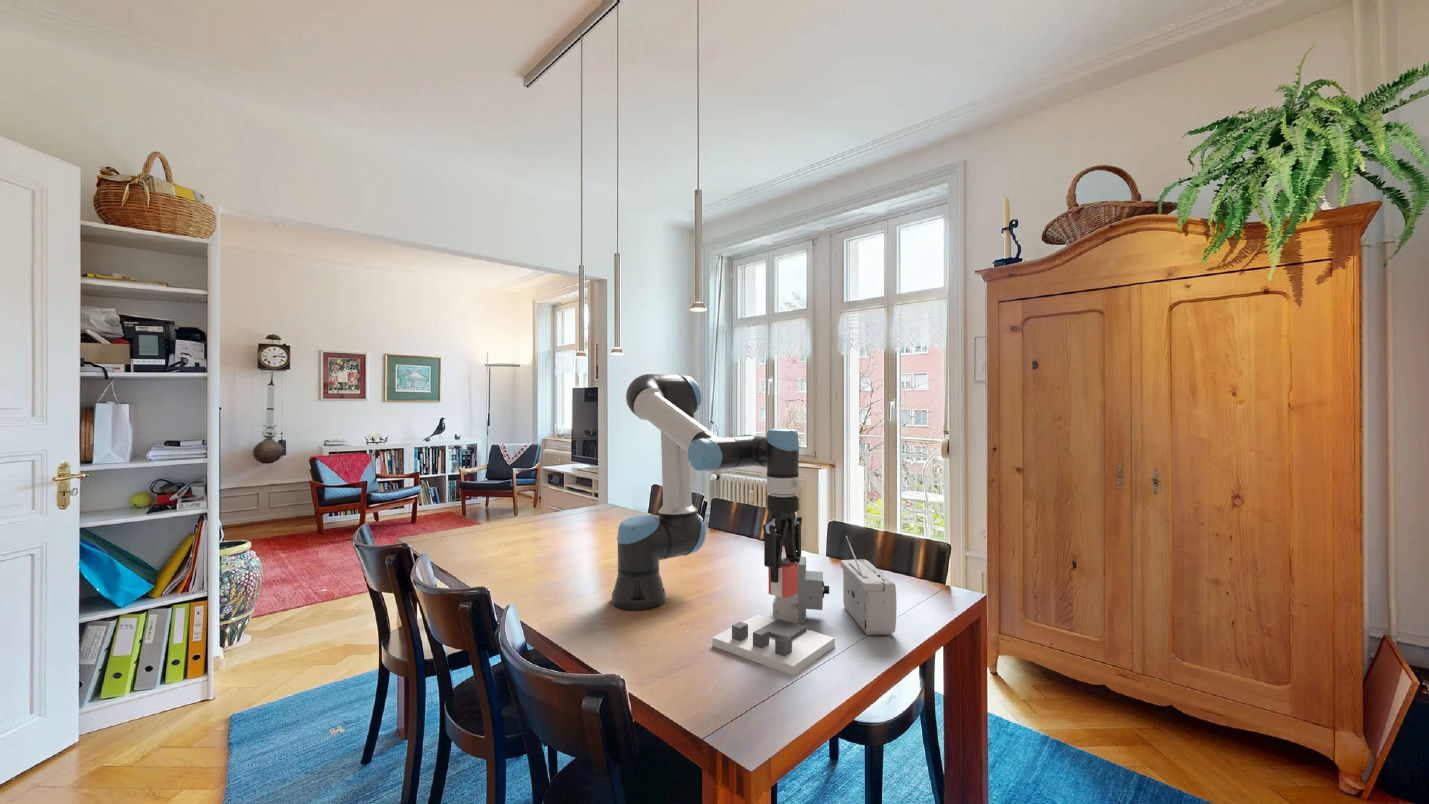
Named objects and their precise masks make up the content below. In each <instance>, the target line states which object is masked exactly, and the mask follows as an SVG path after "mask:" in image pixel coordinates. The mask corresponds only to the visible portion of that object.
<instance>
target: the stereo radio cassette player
mask: <svg viewBox="0 0 1429 804" xmlns="http://www.w3.org/2000/svg"><path fill="white" fill-rule="evenodd" d="M845 539H847V543H848V546H849V548H850V551H851V554H852V557H853V559H842V560H840V568H841V569H842V571H843V573H842V574H843V575H842V576H843V579H842V580H843V581H842V582H843V583H842V584H843V587H842V588H843V589H842V591H843V592H842V595H843V597H842V600H843V607H844V608H845V610H846V611H847V612H848V613H849V615H850V616H851V617H852V618H853V620H854V621H855V622H856V624H858V626H859V627H860V628H861V630H862V631H863V632H864V634H866V635H867V636H871V635H874V636H880V635H881V636H882V635H887V636H889V635H890V636H891V635H892V634H893V633H894V634H895V633H896V626H897V587H896V584H895V582H894V581H893V580H891V579H890V578H889V577H887V575H885V574H884V573H883V572H881V571H880V569H878V568H877V567H875V565H874V564H872V563H871V562H870V561H869V560H866V559H857V557H856V555H855V553H854V550H853V548H852V546H851V543H850V541H849V539H848V536H847V535H845Z"/></svg>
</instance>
